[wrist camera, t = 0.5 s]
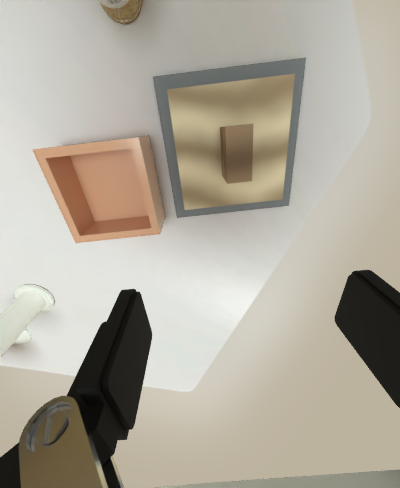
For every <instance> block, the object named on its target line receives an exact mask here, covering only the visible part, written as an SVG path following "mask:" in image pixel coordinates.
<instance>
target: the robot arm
mask: <svg viewBox="0 0 400 488" xmlns="http://www.w3.org/2000/svg"><path fill="white" fill-rule="evenodd" d="M335 322H336V324H337V326H338V327H339V328H340V330H341V331H342V333H343V334H344V335H345V337H346V338H347V339H348V341H349V342H350V343H351V345H352V346H353V347H354V349H355V350H356V351H357V353H358V354H359V356H360V357H361V358H362V359H363V361H364V362H365V363H366V365H367V366H368V368H369V369H370V370H371V371H372V373H373V374H374V376H375V377H376V378H377V380H378V381H379V382H380V384H381V385H382V386H383V388H384V389H385V390H386V392H387V393H388V394H389V396H390V397H391V398H392V400H393V401H394V403H395V404H396V405H397V406H398V407H399V408H400V293H399V292H398V291H397V290H395V289H394V288H393V287H392V286H390V285H389V284H388V283H386V282H385V281H384V280H383V279H381V278H380V277H379V276H378V275H376V274H375V273H374V272H372V271H370V270H361V271H354V272H352V274H351V275H349V277H348V279H347V282H346V285H345V288H344V291H343V294H342V297H341V300H340V303H339V306H338V309H337V312H336V315H335ZM151 340H152V331H151V327H150V324H149V321H148V317H147V314H146V310H145V307H144V304H143V300H142V297H141V294H140V292H136V290H135V289H129V290H122V291H121V292H120V294H119V296H118V298H117V300H116V303H115V305H114V307H113V309H112V311H111V313H110V316H109V318H108V320H107V322H103V323H102V324H101V326H100V328H99V330H98V332H97V334H96V336H95V338H94V340H93V342H92V344H91V346H90V348H89V350H88V353H87V355H86V357H85V359H84V361H83V363H82V365H81V367H80V369H79V371H78V373H77V375H76V377H75V380H74V382H73V384H72V386H71V388H70V390H69V392H68V394H67V396H60V397H57V398H54V399H52V400H51V401H49V402H47V403H46V404H44V405H43V406H42V407H41V408H40V409H38V410H37V411H36V413H35V414H34V415H33V416H32V417H31V418H30V420H29V421H28V423H27V424H26V426H25V427H24V429H23V432H22V434H21V437H20V441H19V443H18V444H16V445H15V446H14V447H13V448H12V449H10V450H9V451H8V452H7V453H5V454H4V455H3V456H2V457H0V488H124V486H123V483H122V481H121V478H120V475H119V472H118V470H117V467H116V464H115V462H114V459H113V456H112V455H113V454H114V452H115V448H116V444H117V440H126V439H127V436H128V432H129V429H133V427H134V424H135V419H136V414H137V410H138V404H139V400H140V394H141V390H142V385H143V380H144V375H145V370H146V365H147V360H148V355H149V350H150V345H151ZM157 488H400V470H388V471H372V472H358V473H343V474H328V475H314V476H299V477H284V478H270V479H256V480H242V481H229V482H215V483H201V484H188V485H178V486H167V487H157Z"/></svg>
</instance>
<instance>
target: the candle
mask: <svg viewBox="0 0 400 488" xmlns="http://www.w3.org/2000/svg"><path fill="white" fill-rule="evenodd" d="M14 298H15V301H14V302H13V303H12V304H11V305H10V306H9V307H8V308H7V309H6V310H5V311H4V312H3V313H2V314H1V315H0V358H1V357H2V356H3V355H4V354H5V352H6V351H7V350H8V349H9V348H10V346H11V345H12V344H13V343H14V342H15V341H16V339H17V338H18V337H19V336H20V335H21V333H22V332H23V331H24V330H25V329H26V327H27V326H28V325H29V324H30V323H31V321H32V320H33V319H34V318H35V317H36V315H37V314H38V313H39V312H46V311H48V310H50V309H51V308H52V307H53V305H54V298H53V296H52V294H51V293H50V292H49V291H47V290H46V289H44V288H42V287H40V286H37V285H32V284H27V285H22V286H20V287H19V288H17V289H16V290H15V292H14Z"/></svg>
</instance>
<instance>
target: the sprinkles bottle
mask: <svg viewBox="0 0 400 488" xmlns="http://www.w3.org/2000/svg"><path fill="white" fill-rule="evenodd" d="M98 1H99V2H100V3H101V5H102V7H103V9H104V10H105V12H106V13H107V14H108V16H109V17H111V18H112V19H113V20H114V21H116V22H118V23H123V24H126V23H129V22H131V21H133V20H134V19H135V18H136V17H137V15H138V14H139V12H140V8H141V4H142V0H98Z"/></svg>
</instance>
